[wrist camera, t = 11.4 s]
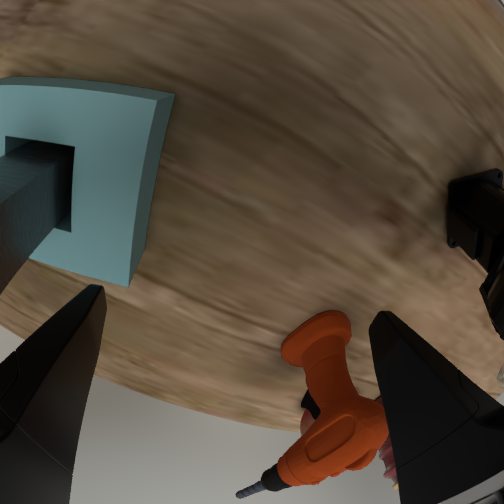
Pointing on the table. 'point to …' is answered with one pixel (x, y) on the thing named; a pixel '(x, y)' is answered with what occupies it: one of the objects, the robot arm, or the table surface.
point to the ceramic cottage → (501, 376)
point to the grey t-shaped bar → (31, 199)
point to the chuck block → (93, 165)
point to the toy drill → (326, 410)
